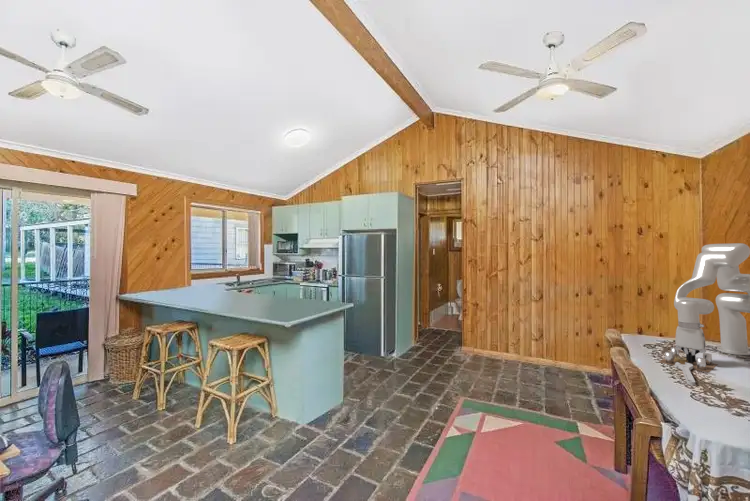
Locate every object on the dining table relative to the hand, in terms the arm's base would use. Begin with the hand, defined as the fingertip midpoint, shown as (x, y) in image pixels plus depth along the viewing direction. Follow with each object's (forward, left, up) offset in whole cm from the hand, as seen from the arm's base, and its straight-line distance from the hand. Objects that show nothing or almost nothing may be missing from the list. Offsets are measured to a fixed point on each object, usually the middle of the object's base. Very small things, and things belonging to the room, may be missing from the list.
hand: (691, 362), depth 156 cm
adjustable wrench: (+17, +2, -1) cm, 17 cm away
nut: (0, -4, -1) cm, 4 cm away
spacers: (0, -1, -1) cm, 2 cm away
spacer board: (0, -1, -1) cm, 2 cm away
